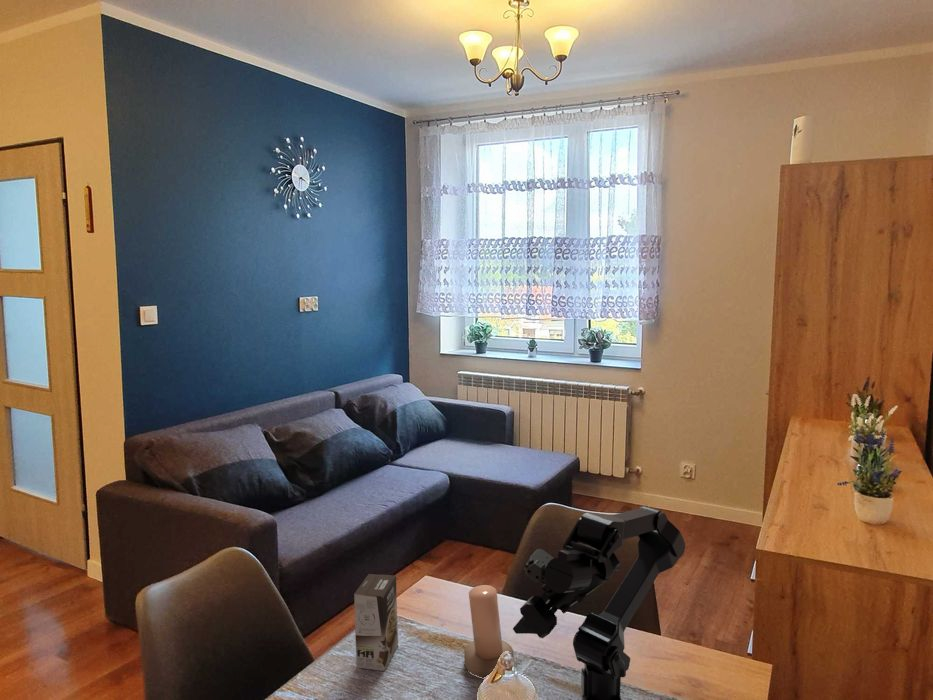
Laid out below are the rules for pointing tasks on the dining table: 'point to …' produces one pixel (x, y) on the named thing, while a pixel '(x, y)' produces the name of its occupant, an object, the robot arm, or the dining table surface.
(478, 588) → the candle
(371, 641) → the coffee box
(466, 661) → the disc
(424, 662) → the dining table surface
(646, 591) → the robot arm
